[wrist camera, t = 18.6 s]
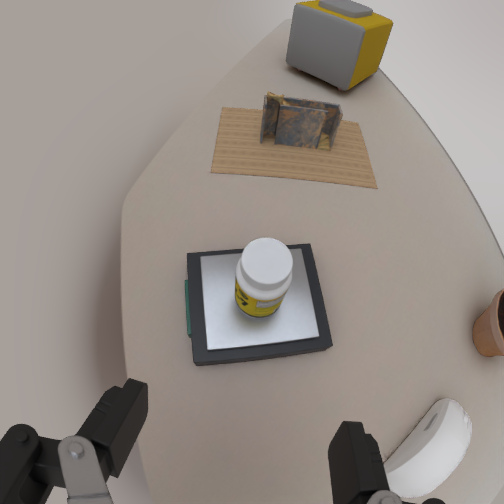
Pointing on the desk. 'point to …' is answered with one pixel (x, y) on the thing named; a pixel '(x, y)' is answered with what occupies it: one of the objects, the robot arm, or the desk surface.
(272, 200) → the desk surface
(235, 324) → the scale pan
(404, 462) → the computer mouse
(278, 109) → the ruin model on sheet
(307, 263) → the scale
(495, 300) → the potted plant
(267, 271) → the supplement bottle
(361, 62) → the alarm clock
